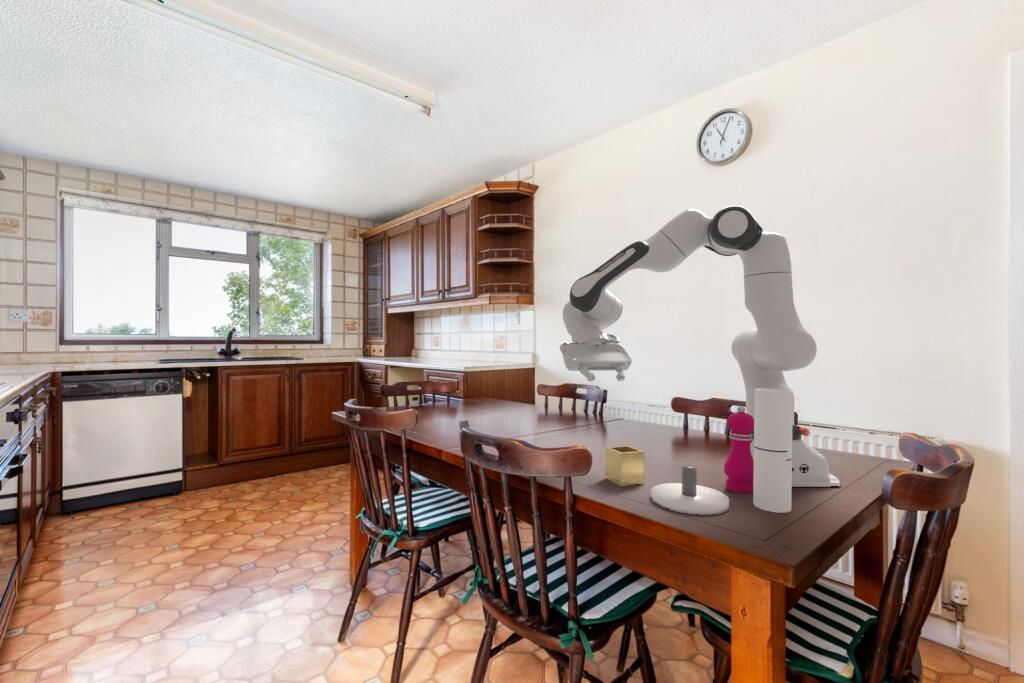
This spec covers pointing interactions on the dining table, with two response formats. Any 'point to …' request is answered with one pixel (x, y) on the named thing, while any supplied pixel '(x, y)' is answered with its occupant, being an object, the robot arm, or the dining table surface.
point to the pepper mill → (740, 453)
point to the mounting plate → (690, 503)
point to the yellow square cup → (624, 465)
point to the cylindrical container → (773, 449)
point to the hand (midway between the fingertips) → (607, 379)
